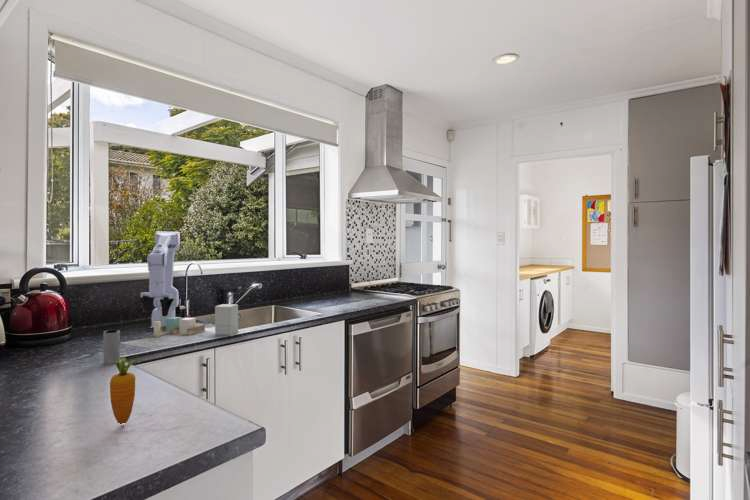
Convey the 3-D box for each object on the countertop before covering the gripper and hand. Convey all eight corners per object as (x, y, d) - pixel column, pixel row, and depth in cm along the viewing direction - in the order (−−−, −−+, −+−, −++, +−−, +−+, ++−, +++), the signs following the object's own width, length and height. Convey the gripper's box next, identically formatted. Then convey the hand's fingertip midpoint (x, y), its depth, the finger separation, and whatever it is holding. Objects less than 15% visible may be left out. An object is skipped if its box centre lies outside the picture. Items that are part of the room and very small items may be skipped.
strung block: (150, 336, 171) (150, 322, 171) (172, 330, 184) (172, 316, 184) (159, 337, 170) (159, 322, 170) (181, 330, 183) (181, 317, 183)
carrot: (116, 421, 93) (116, 354, 93) (140, 421, 93) (140, 354, 93) (104, 431, 88) (104, 360, 88) (129, 431, 88) (129, 360, 88)
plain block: (179, 333, 178) (179, 319, 178) (186, 331, 182) (186, 317, 182) (188, 334, 177) (188, 320, 176) (195, 332, 181) (195, 318, 181)
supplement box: (238, 332, 183) (238, 304, 183) (231, 336, 176) (231, 306, 175) (222, 332, 184) (222, 303, 183) (214, 336, 176) (214, 306, 176)
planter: (123, 361, 138) (123, 330, 138) (110, 365, 134) (110, 333, 134) (113, 360, 140) (112, 329, 140) (100, 363, 136) (100, 332, 135)
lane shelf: (158, 334, 178) (158, 326, 178) (175, 329, 188) (175, 322, 188) (189, 336, 174) (189, 328, 174) (204, 331, 184) (204, 324, 184)
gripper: (134, 282, 169) (134, 316, 170) (164, 283, 166) (164, 318, 166) (148, 280, 176) (148, 313, 176) (177, 282, 173) (177, 315, 173)
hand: (157, 315), depth 172 cm, fingers open, 7 cm apart
